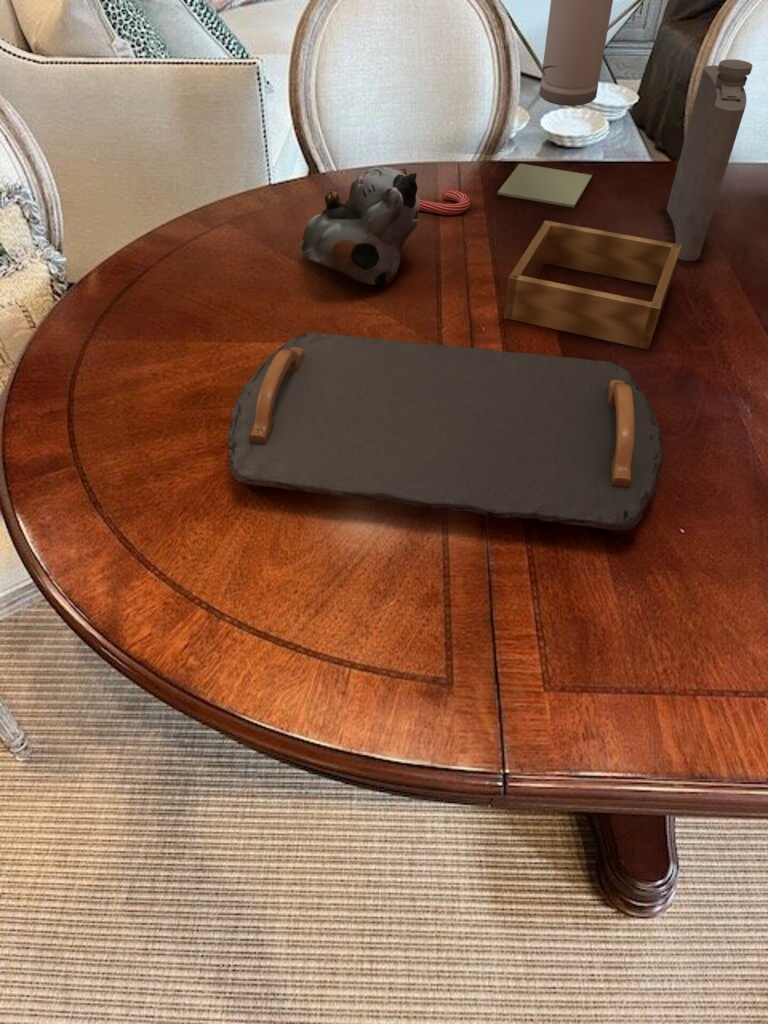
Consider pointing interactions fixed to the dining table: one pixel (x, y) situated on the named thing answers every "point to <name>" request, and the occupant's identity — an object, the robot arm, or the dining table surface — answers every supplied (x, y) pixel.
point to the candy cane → (447, 208)
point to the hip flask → (706, 152)
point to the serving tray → (450, 430)
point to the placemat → (545, 185)
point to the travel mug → (574, 50)
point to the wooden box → (585, 306)
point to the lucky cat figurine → (365, 226)
